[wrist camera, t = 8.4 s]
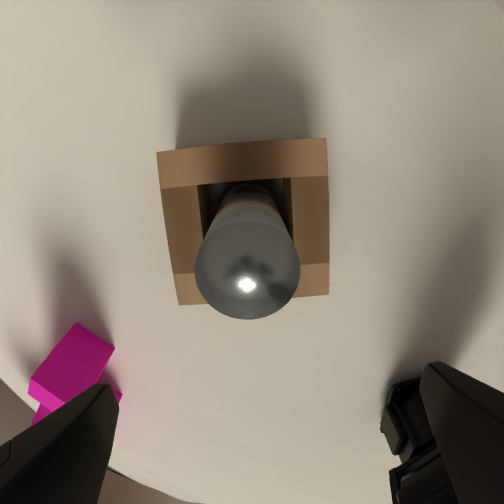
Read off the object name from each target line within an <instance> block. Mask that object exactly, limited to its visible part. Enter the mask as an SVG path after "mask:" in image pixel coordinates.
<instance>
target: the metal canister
mask: <svg viewBox="0 0 504 504" xmlns="http://www.w3.org/2000/svg"><path fill="white" fill-rule="evenodd" d="M194 272H195V280H196V284H197V286H198V289H199V291H200V293H201V295H202V296H203V298H204V299H205V300H206V301H207V302H208V304H209V305H211V306H212V307H213V308H214V309H216V310H217V311H219V312H220V313H222V314H224V315H227V316H230V317H233V318H237V319H258V318H262V317H266V316H268V315H271V314H273V313H275V312H277V311H278V310H280V309H281V308H282V307H283V306H285V305H286V304H287V303H288V302H289V300H290V299H291V298H292V296H293V295H294V293H295V291H296V289H297V287H298V284H299V280H300V273H301V268H300V261H299V256H298V254H297V251H296V249H295V247H294V245H293V242H292V240H291V238H290V236H289V234H288V231H287V229H286V227H285V225H284V223H283V220H282V218H281V216H280V214H279V212H278V210H277V207H276V205H275V203H274V201H273V199H272V197H271V195H270V194H269V193H268V192H267V191H266V190H265V189H264V188H263V187H261V186H259V185H256V184H251V183H245V184H240V185H237V186H235V187H234V188H232V189H231V190H230V191H229V192H228V193H227V194H226V196H225V197H224V199H223V201H222V203H221V205H220V207H219V209H218V211H217V214H216V216H215V218H214V220H213V222H212V224H211V226H210V228H209V230H208V232H207V234H206V236H205V238H204V241H203V243H202V245H201V247H200V249H199V251H198V254H197V257H196V261H195V269H194Z"/></svg>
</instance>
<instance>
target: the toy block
mask: <svg viewBox="0 0 504 504" xmlns="http://www.w3.org/2000/svg"><path fill="white" fill-rule="evenodd" d="M114 350H115V348H114V347H112V346H110V345H109V344H107V343H106V342H104V341H103V340H101V339H100V338H98V337H97V336H95V335H94V334H92V333H91V332H90V331H88V330H87V329H85V328H84V327H82V326H81V325H80V324H78V323H77V322H76V323H75V324H74V326H73V327H72V328H71V329H70V330H69V331H68V333H67V334H66V335H65V336H64V337H63V339H62V340H61V341H60V342H59V343H58V345H57V346H56V347H55V348H54V349H53V351H52V352H51V353H50V354H49V356H48V357H47V358H46V359H45V361H44V362H43V363H42V364H41V366H40V367H39V368H38V369H37V371H36V372H35V373H34V375H33V376H32V377H31V379H30V384H29V389H28V394H29V395H30V396H31V397H33V398H34V399H35V400H37V401H38V402H40V406H39V408H38V410H37V413H36V415H35V417H34V419H33V421H32V424H31V426H32V425H33V424H35V423H36V422H38V421H39V420H41V419H42V418H44V417H46V416H47V415H49V414H50V413H52V412H53V411H55V410H56V409H58V408H59V407H61V406H62V405H64V404H65V403H67V402H68V401H70V400H71V399H73V398H74V397H76V396H77V395H79V394H80V393H81V392H83V391H84V390H86V389H87V388H89V387H90V386H92V385H93V384H95V383H102V382H100V381H99V378H100V376H101V374H102V372H103V370H104V368H105V366H106V364H107V362H108V361H109V359H110V357H111V355H112V353H113V351H114ZM112 390H113V389H112ZM113 392H114V394H115V397H116V399H117V401H118V404H119V401H120V399H121V397H122V394H120V393H118V392H117V391H115V390H113Z"/></svg>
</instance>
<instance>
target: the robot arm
mask: <svg viewBox="0 0 504 504" xmlns="http://www.w3.org/2000/svg"><path fill="white" fill-rule="evenodd" d="M118 414H119V404H118V401H117V399H116V397H115V394H114V392H113V390H112V387H111V386H110V385H109V384H107V383H95V384H93V385H92V386H90V387H89V388H87V389H86V390H84V391H83V392H81V393H80V394H79V395H77V396H76V397H74V398H73V399H71V400H70V401H68V402H67V403H65V404H64V405H62V406H61V407H59V408H58V409H56V410H55V411H53V412H52V413H50V414H49V415H47V416H46V417H44V418H42V419H41V420H39V421H38V422H36V423H35V424H33V425H32V426H30V427H29V428H27V429H26V430H24V431H23V432H21V433H20V434H18V435H16V436H15V437H13V438H12V440H9V441H7V442H6V443H4V444H3V445H1V446H0V504H97V503H98V499H99V495H100V491H101V488H102V484H103V480H104V477H105V473H106V470H107V466H108V463H109V459H110V455H111V451H112V446H113V441H114V435H115V430H116V424H117V419H118ZM380 425H381V426H380V431H381V433H384V434H385V437H386V439H387V442H388V444H389V447H390V449H391V452H392V454H393V455H395V456H396V455H399V457H400V460H401V462H402V464H401V465H399V466H398V467H396V468H393V469H391V470H390V471H389V476H390V479H389V480H390V487H391V494H392V501H393V504H504V393H503V392H501V391H499V390H497V389H495V388H493V387H491V386H489V385H487V384H485V383H483V382H481V381H479V380H477V379H475V378H473V377H471V376H469V375H467V374H465V373H463V372H461V371H459V370H457V369H455V368H453V367H451V366H449V365H447V364H445V363H443V362H441V361H435V362H430V363H428V364H427V365H426V366H425V369H424V372H423V376H422V377H421V378H417V379H413V380H409V381H405V382H400V383H396V384H394V385H393V386H392V388H391V391H390V395H389V399H388V402H387V405H386V406H385V409H384V412H383V416H382V419H381V423H380Z"/></svg>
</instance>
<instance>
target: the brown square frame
mask: <svg viewBox="0 0 504 504" xmlns="http://www.w3.org/2000/svg"><path fill="white" fill-rule="evenodd" d="M156 154H157V164H158V173H159V181H160V190H161V198H162V205H163V213H164V220H165V227H166V233H167V240H168V246H169V253H170V259H171V265H172V271H173V276H174V282H175V287H176V293H177V298H178V303H179V305H196V304H208V302H207V301H206V300H205V299H204V298H203V296H202V295H201V293H200V291H199V289H198V286H197V284H196V280H195V272H194V269H195V261H196V257H197V254H198V251H199V249H200V247H201V245H202V243H203V241H204V238H205V236H206V234H207V232H208V230H209V228H210V226H211V224H212V215H211V206H210V196H209V187H208V184H211V183H221V182H233V181H245V180H258V179H272V178H282V181H283V197H284V215H285V227H286V229H287V231H288V234H289V236H290V238H291V240H292V242H293V245H294V247H295V249H296V251H297V254H298V256H299V261H300V268H301V273H300V280H299V284H298V287H297V289H296V291H295V293H294V295H293V296H292V298H296V297H307V296H318V295H328V294H329V191H328V166H327V147H326V138H313V139H285V140H267V141H252V142H240V143H228V144H218V145H209V146H200V147H192V148H184V149H176V150H169V151H162V152H156Z"/></svg>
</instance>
